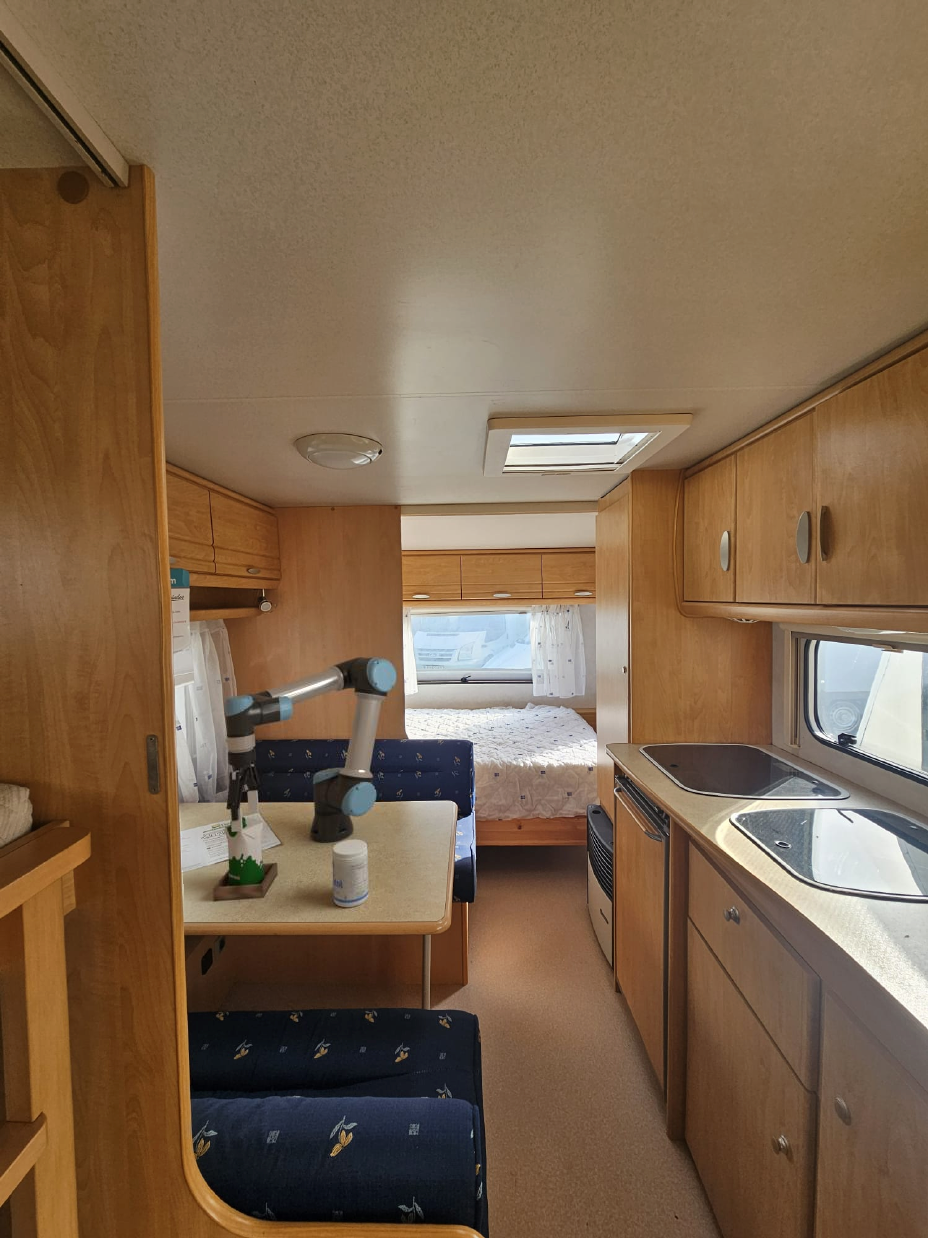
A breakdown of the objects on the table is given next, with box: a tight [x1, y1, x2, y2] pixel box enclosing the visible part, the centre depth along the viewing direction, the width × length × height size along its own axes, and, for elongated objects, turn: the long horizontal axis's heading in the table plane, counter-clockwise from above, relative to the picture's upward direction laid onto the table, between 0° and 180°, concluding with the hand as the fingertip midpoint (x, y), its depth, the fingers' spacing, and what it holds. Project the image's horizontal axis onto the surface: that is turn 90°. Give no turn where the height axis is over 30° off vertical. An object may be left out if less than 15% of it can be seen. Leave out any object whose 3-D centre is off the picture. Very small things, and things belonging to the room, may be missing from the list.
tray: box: [212, 862, 278, 902], centre depth 153 cm, size 14×14×4 cm
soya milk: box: [224, 816, 265, 886], centre depth 152 cm, size 9×9×20 cm
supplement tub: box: [331, 839, 370, 908], centre depth 144 cm, size 10×10×15 cm
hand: (245, 821), depth 153 cm, fingers open, 13 cm apart
